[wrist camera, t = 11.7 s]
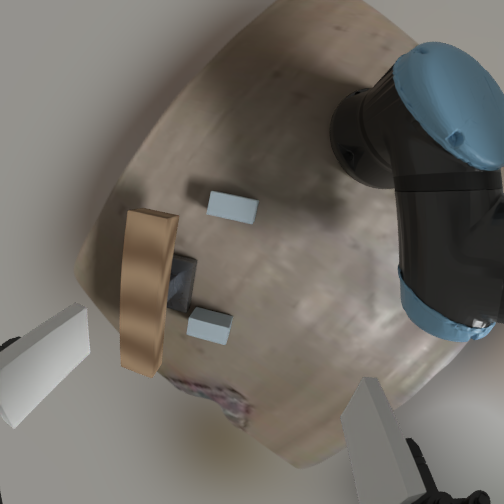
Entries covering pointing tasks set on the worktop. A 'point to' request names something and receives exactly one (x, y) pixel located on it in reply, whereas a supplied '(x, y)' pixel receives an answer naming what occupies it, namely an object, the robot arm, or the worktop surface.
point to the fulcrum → (181, 283)
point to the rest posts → (209, 321)
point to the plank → (145, 288)
